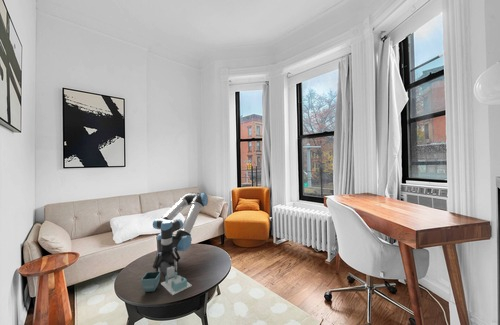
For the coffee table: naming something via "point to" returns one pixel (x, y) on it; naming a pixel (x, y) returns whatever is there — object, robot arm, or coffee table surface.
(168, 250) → the robot arm
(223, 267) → the coffee table surface
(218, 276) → the coffee table surface
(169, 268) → the bar
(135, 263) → the coffee table surface
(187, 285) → the board
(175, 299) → the coffee table surface
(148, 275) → the flower pot
